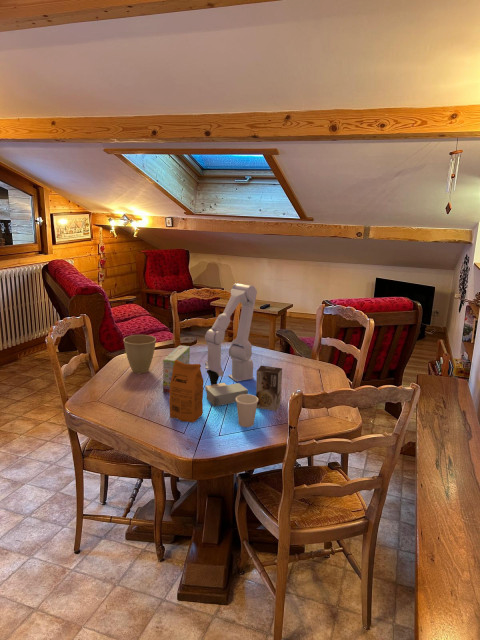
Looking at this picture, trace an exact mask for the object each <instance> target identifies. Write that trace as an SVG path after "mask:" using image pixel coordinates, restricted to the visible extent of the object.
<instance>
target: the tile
mask: <svg viewBox="0 0 480 640" xmlns="http://www.w3.org/2000/svg"><path fill="white" fill-rule="evenodd" d="M225 385H227V384H226V383H225V382H222V383H217V384H214V385H211V384H210V385H205V387H204V389H205V392H207V389H209V388H214V387H220V386H225Z"/></svg>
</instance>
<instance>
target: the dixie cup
mask: <svg viewBox="0 0 480 640" xmlns="http://www.w3.org/2000/svg"><path fill="white" fill-rule="evenodd" d="M257 402H258V398H257V397H256V395H253V394H249V393H248V394H243V395H239V396H237V397H236V402H235V403H236V409H237V418H238V419H237V422H238V425H239V426H240V427H242V428H251V427H253V426H254V425H255V419H256V415H257V414H256V413H257V409H258V408H257Z"/></svg>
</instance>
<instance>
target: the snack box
mask: <svg viewBox="0 0 480 640" xmlns="http://www.w3.org/2000/svg"><path fill="white" fill-rule="evenodd" d="M190 348H191V347H190V346H189V345H178V346H177V347H176V348H175V349H174V350H173V351H171V352H170V353H169V354H168V355H167V356H165V358H163V360H162V361H163V362H162V364H163V365H162V367H163V368H162V369H163V370H162V371H163V372H162V373H163V375H162V393H167V394H170V383H171V378H172V372H173V366H174V362H175V360H178V361H180V362H182V363H184V364H190V354H191V353H190V352H191V350H190Z"/></svg>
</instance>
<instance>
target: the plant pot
mask: <svg viewBox="0 0 480 640" xmlns="http://www.w3.org/2000/svg"><path fill="white" fill-rule="evenodd" d="M156 343H157V338H156V337H155V336H153V335H149V334H148V335H147V334H131V335H128V336H126V337H124V338H123V345H124V350H125V354H126V358H127V361H128V364H129V366H130V368H131V369H130V370H131V371H132V373H134V374H137V373H142V374H145V373H148V372H149V370H150V368H151V365H152V362H153V357H154V353H155V349H156Z"/></svg>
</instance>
